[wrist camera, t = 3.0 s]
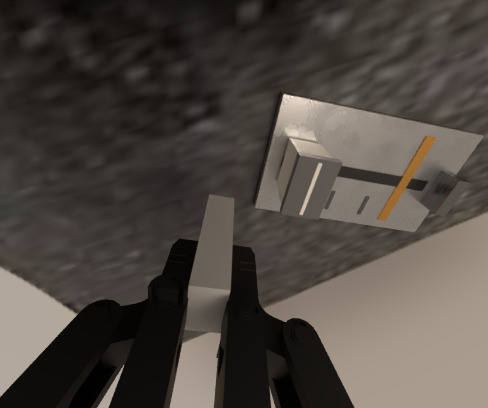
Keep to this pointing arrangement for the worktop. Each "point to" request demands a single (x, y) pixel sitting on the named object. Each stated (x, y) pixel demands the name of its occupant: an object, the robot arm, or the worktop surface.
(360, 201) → the panel
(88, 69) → the worktop surface
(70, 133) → the worktop surface
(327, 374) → the robot arm
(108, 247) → the worktop surface
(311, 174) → the fader
